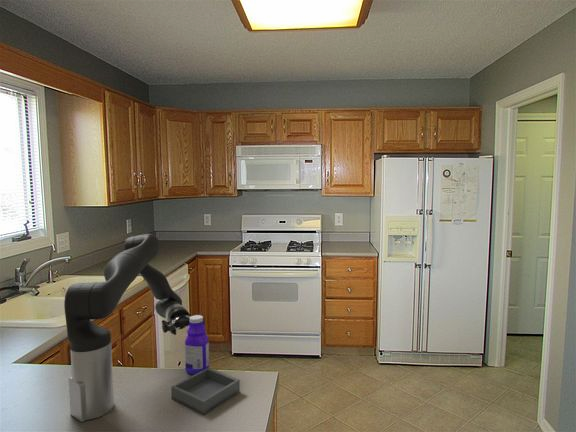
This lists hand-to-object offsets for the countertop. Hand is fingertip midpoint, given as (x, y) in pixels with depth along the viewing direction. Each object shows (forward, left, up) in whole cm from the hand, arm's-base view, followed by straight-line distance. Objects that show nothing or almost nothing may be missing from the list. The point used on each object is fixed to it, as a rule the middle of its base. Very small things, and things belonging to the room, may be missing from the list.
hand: (188, 329), depth 124 cm
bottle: (-4, -10, -10) cm, 15 cm away
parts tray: (-12, -23, -10) cm, 28 cm away
